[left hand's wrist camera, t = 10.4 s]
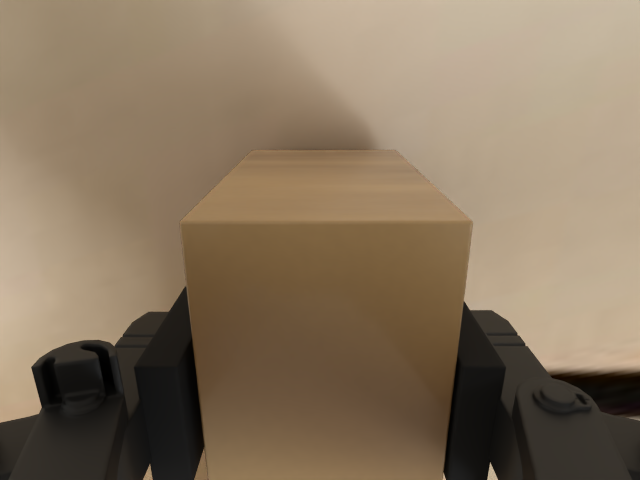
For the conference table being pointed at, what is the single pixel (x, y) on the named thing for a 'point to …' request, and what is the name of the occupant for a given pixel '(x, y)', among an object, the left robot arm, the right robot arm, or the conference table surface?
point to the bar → (325, 316)
